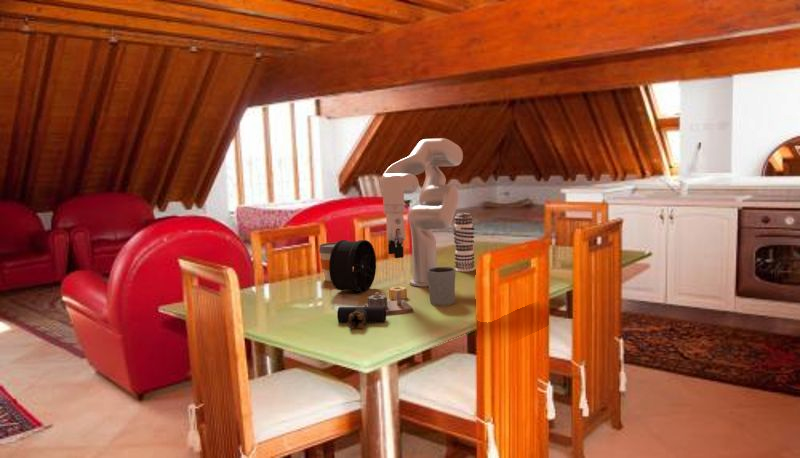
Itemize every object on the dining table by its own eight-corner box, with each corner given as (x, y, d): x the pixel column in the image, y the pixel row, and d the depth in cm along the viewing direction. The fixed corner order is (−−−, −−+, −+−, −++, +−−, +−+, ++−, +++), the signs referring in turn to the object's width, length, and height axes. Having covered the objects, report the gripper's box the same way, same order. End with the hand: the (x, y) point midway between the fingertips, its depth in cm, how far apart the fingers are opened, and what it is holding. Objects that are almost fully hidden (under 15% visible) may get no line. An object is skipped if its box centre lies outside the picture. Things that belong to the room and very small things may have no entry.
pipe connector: (378, 313, 196) (331, 313, 199) (379, 330, 197) (332, 330, 199) (385, 304, 208) (341, 304, 210) (386, 320, 208) (341, 320, 211)
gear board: (403, 303, 228) (403, 286, 227) (413, 311, 216) (412, 294, 215) (365, 307, 225) (364, 289, 224) (372, 316, 212) (371, 298, 212)
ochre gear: (404, 295, 240) (404, 285, 240) (408, 298, 234) (408, 289, 234) (387, 296, 239) (387, 287, 238) (391, 300, 232) (391, 291, 232)
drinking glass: (437, 307, 220) (436, 273, 218) (422, 301, 229) (421, 268, 227) (462, 303, 225) (461, 269, 223) (447, 297, 234) (445, 265, 232)
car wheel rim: (354, 297, 241) (351, 244, 238) (330, 295, 245) (327, 244, 242) (377, 285, 259) (374, 236, 256) (355, 284, 263) (352, 236, 260)
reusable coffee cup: (315, 281, 271) (313, 246, 269) (329, 275, 283) (327, 242, 281) (341, 282, 267) (339, 247, 265) (355, 276, 278) (353, 242, 276)
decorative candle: (479, 268, 285) (477, 212, 281) (469, 272, 277) (468, 214, 274) (460, 266, 290) (458, 212, 286) (451, 270, 282) (449, 214, 278)
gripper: (410, 210, 224) (411, 258, 227) (398, 206, 241) (400, 251, 243) (389, 211, 223) (391, 260, 225) (379, 207, 239) (380, 253, 242)
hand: (395, 255), depth 234 cm, fingers open, 9 cm apart
